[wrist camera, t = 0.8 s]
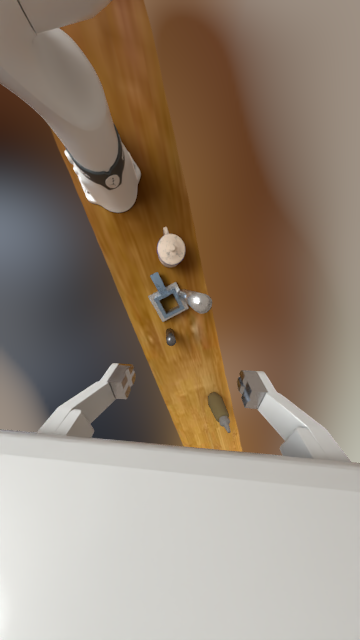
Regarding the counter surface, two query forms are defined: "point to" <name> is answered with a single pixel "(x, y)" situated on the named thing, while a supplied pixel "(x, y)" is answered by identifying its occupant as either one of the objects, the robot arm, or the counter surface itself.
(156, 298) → the box with upright lever
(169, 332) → the dark grey rounded rod
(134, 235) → the counter surface
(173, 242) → the teacup with lid
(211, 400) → the squeeze bottle
